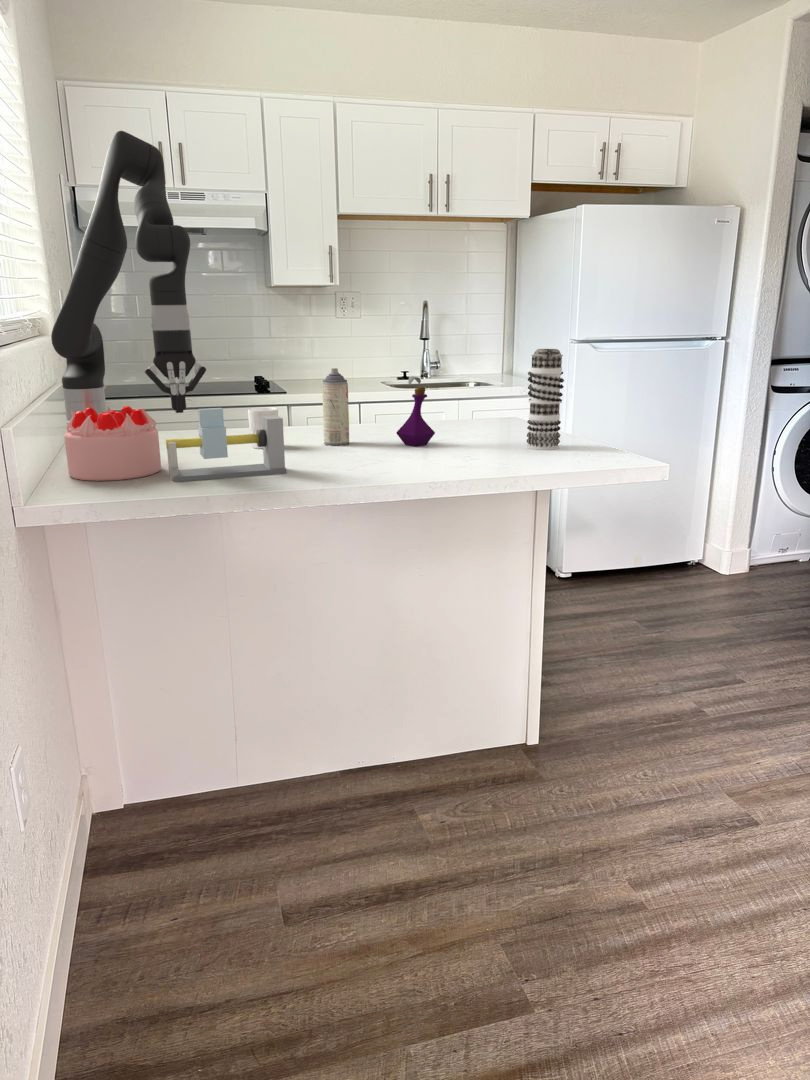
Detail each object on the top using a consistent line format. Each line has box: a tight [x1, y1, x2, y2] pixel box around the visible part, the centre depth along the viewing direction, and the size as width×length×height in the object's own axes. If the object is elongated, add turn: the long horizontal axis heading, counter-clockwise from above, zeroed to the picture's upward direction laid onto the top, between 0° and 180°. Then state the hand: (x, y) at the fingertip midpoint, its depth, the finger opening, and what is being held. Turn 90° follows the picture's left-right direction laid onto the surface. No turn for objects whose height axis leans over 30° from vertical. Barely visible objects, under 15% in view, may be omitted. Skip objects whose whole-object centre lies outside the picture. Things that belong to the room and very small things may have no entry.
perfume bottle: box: [396, 376, 436, 448], centre depth 209 cm, size 8×8×18 cm
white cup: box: [247, 406, 279, 450], centre depth 209 cm, size 8×8×10 cm
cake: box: [63, 405, 162, 482], centre depth 176 cm, size 20×20×14 cm
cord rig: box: [165, 415, 287, 483], centre depth 173 cm, size 25×8×12 cm, turn 112°
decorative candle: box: [526, 348, 565, 451], centre depth 203 cm, size 9×9×25 cm
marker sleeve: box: [197, 407, 229, 460], centre depth 172 cm, size 5×6×10 cm
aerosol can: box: [321, 367, 350, 447], centre depth 211 cm, size 7×7×20 cm
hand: (179, 412), depth 168 cm, fingers closed
